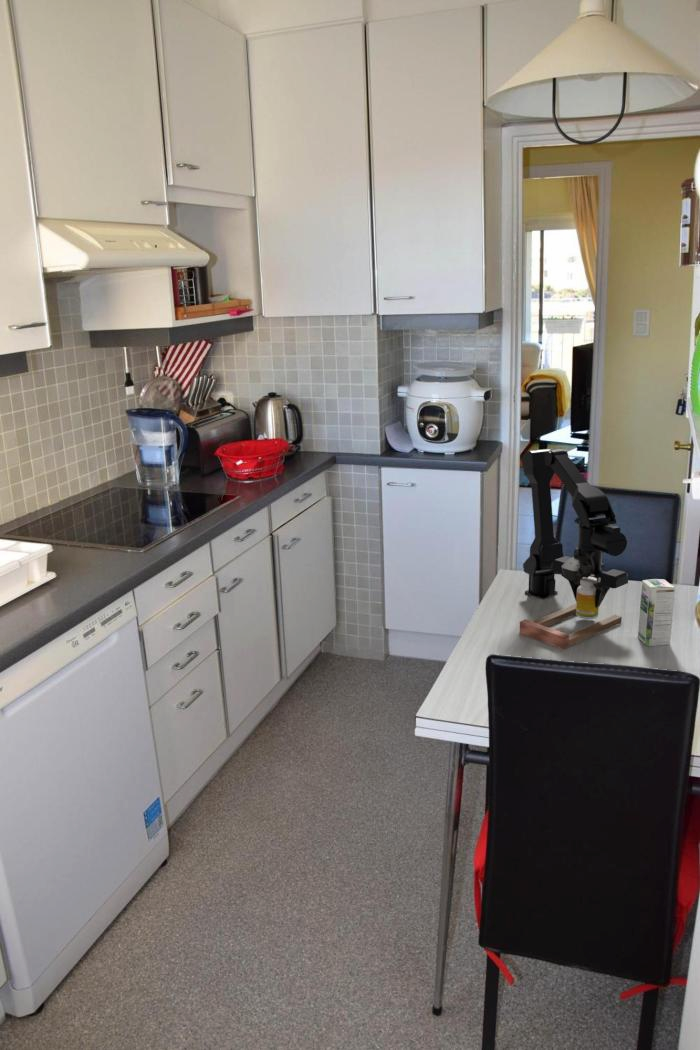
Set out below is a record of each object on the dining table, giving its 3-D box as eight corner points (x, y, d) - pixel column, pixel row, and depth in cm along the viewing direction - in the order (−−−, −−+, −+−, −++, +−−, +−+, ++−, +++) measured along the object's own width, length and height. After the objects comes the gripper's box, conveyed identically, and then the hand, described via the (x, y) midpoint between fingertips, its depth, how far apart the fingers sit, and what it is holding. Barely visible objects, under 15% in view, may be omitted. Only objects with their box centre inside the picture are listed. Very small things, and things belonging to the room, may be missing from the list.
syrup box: (636, 637, 201) (640, 579, 197) (660, 635, 201) (665, 578, 197) (646, 646, 195) (650, 587, 191) (671, 645, 196) (676, 586, 192)
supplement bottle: (599, 620, 208) (601, 583, 205) (576, 619, 209) (578, 582, 206) (597, 612, 213) (599, 575, 210) (575, 611, 214) (576, 574, 211)
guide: (519, 632, 205) (519, 621, 205) (577, 608, 219) (578, 597, 218) (563, 649, 196) (563, 637, 195) (621, 622, 209) (621, 611, 209)
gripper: (538, 543, 208) (536, 602, 212) (603, 560, 194) (600, 623, 198) (566, 534, 215) (564, 591, 219) (631, 549, 201) (627, 611, 205)
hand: (587, 604), depth 210 cm, fingers closed on supplement bottle, 5 cm apart
